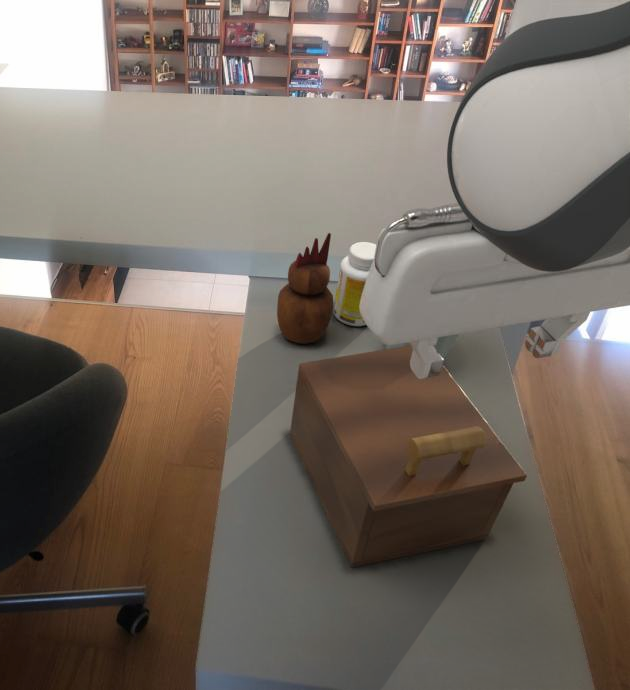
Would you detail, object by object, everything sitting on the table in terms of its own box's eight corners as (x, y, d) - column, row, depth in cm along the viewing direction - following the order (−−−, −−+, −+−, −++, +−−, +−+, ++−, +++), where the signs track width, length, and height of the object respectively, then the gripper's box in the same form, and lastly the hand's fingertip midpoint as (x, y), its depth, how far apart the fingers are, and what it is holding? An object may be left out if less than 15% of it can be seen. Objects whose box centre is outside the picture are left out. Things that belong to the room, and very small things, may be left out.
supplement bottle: (383, 322, 91) (398, 257, 84) (346, 332, 90) (358, 266, 83) (360, 298, 95) (373, 234, 88) (324, 308, 94) (334, 243, 87)
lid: (524, 481, 59) (543, 443, 56) (373, 511, 57) (384, 474, 54) (424, 348, 72) (434, 311, 69) (298, 369, 70) (303, 332, 67)
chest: (486, 539, 66) (518, 473, 60) (351, 568, 64) (368, 503, 57) (405, 414, 78) (424, 348, 72) (289, 435, 76) (298, 369, 70)
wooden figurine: (328, 324, 91) (344, 224, 81) (327, 352, 87) (344, 251, 77) (276, 318, 92) (286, 220, 82) (272, 346, 88) (282, 246, 78)
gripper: (408, 241, 39) (369, 415, 47) (724, 196, 42) (631, 367, 50) (361, 190, 43) (333, 357, 52) (647, 152, 46) (575, 316, 55)
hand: (482, 362), depth 51 cm, fingers open, 8 cm apart
